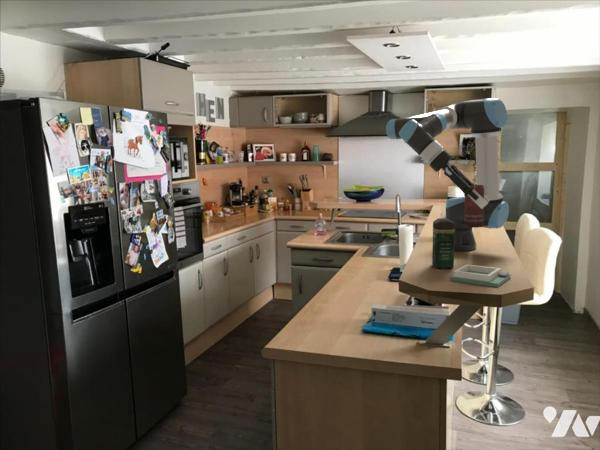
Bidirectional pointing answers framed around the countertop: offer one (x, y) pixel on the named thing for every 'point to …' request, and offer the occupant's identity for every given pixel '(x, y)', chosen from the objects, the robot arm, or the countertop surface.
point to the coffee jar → (443, 243)
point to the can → (474, 209)
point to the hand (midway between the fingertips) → (485, 204)
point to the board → (480, 275)
